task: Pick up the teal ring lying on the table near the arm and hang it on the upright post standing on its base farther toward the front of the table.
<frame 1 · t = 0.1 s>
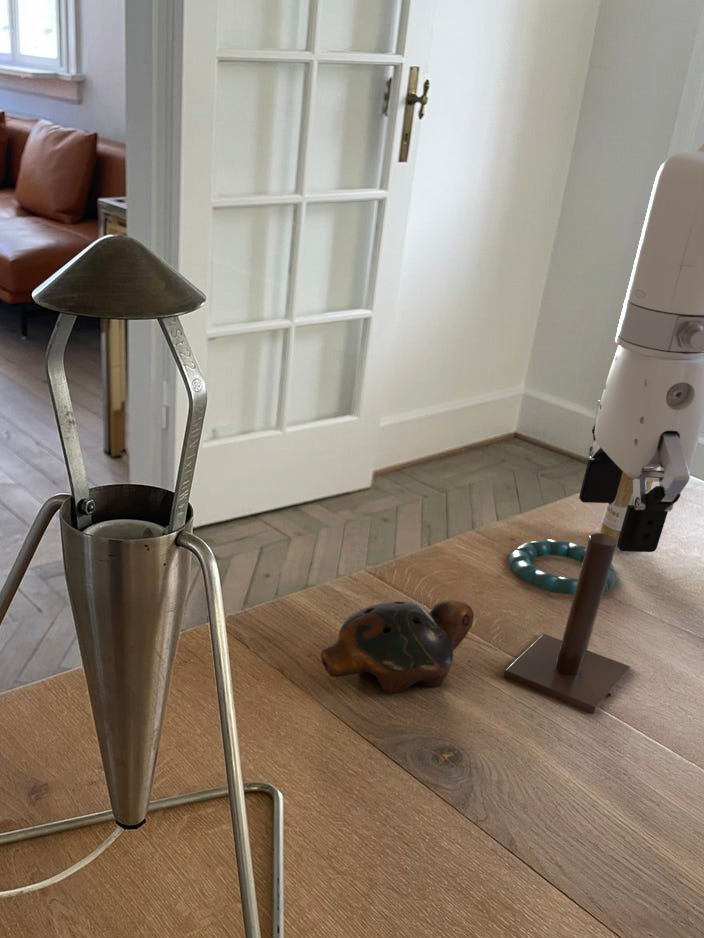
hand: (614, 524, 85), 17 cm above the table, tool pointing down, fingers open, 9 cm apart
post: (564, 680, 95), on the table
decorative turtle: (392, 679, 94), on the table
ring: (561, 569, 112), point 1 cm above the table
sprinkles bottle: (613, 550, 120), on the table
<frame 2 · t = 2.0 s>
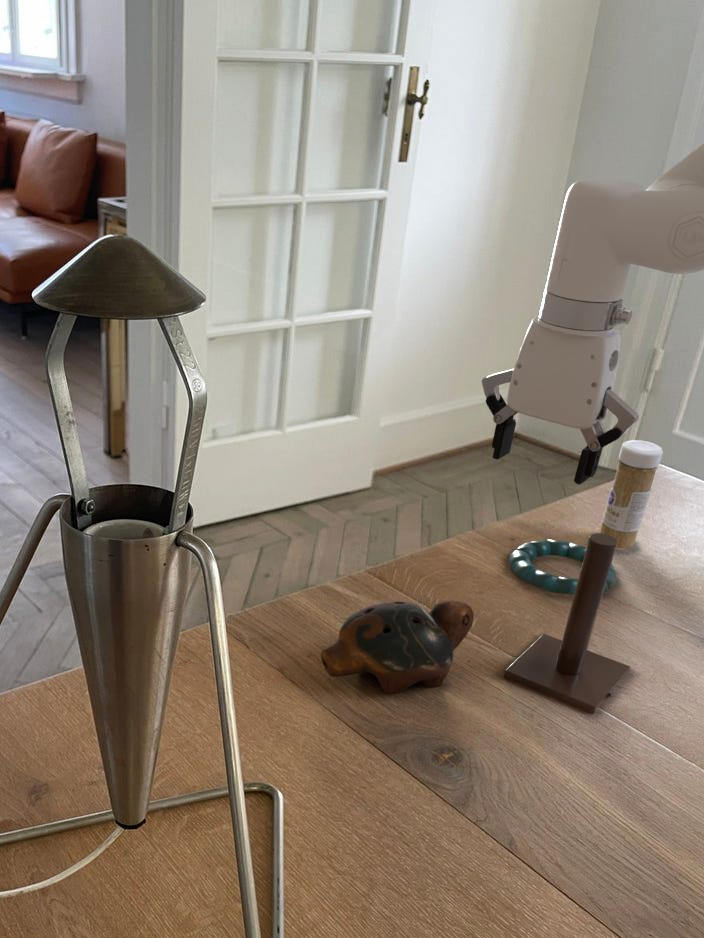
hand: (540, 468, 109), 12 cm above the table, tool pointing down, fingers open, 9 cm apart
nothing on the table moved.
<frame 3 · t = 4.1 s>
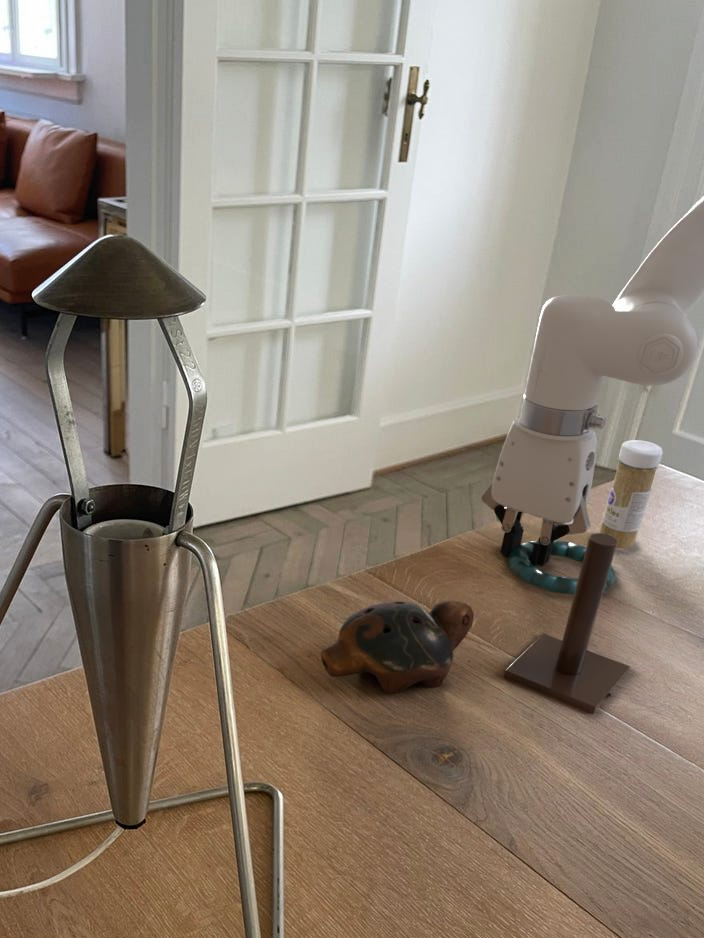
hand: (522, 563, 115), 0 cm above the table, tool pointing down, fingers closed on ring, 2 cm apart
ring: (561, 568, 112), point 1 cm above the table, touching gripper
everything else where it was.
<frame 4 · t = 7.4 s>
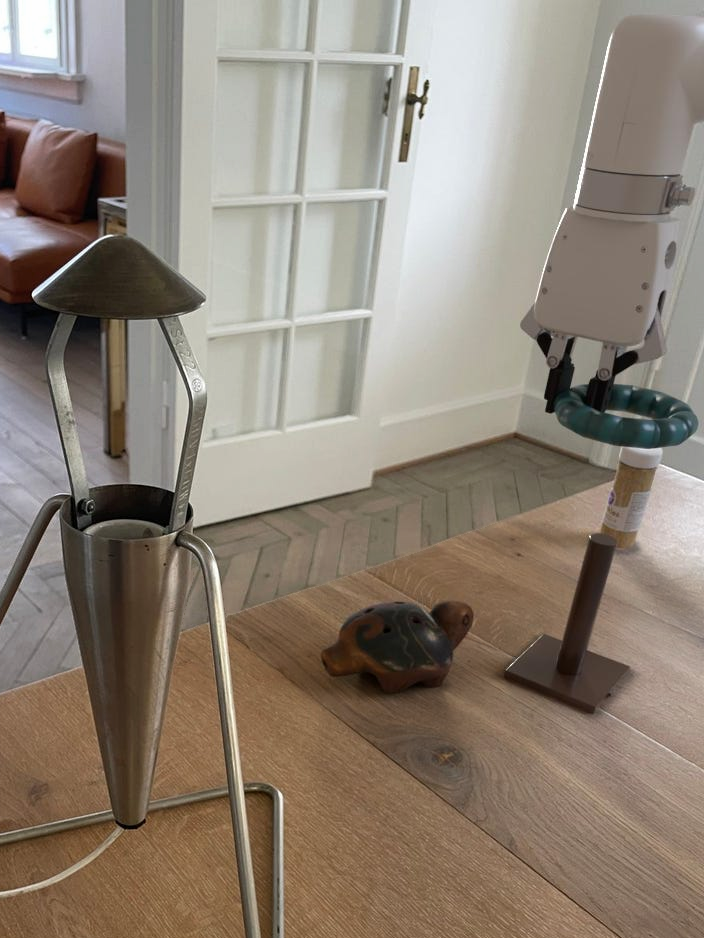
hand: (572, 412, 88), 24 cm above the table, tool pointing down, fingers closed on ring, 2 cm apart
ring: (624, 414, 85), point 25 cm above the table, touching gripper
everything else where it was.
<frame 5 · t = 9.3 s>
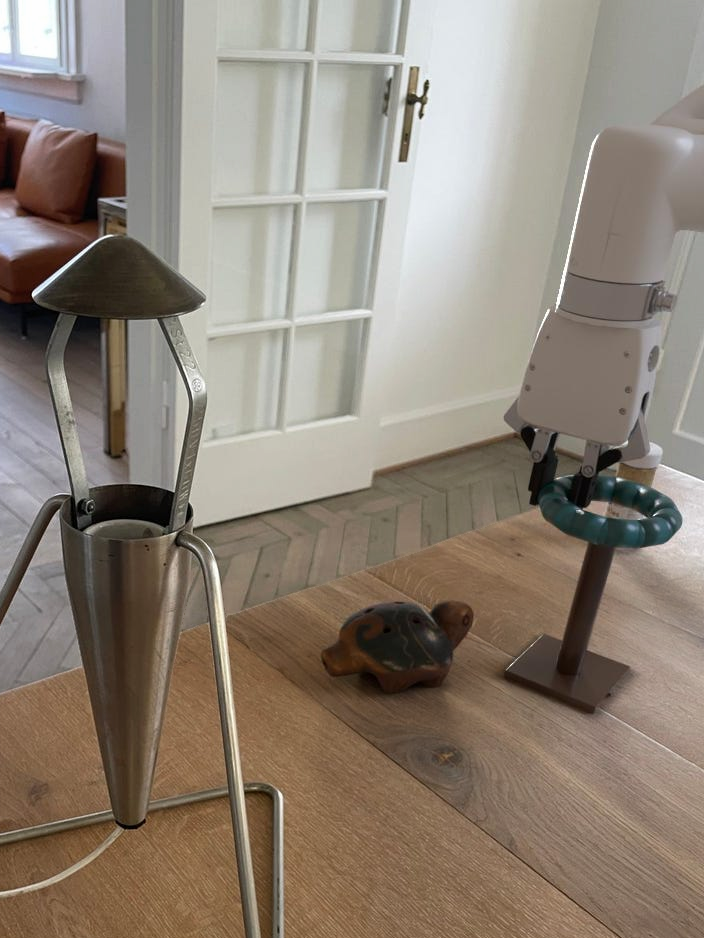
hand: (556, 504, 88), 17 cm above the table, tool pointing down, fingers closed on ring, 2 cm apart
ring: (608, 509, 85), point 18 cm above the table, touching gripper
everything else where it was.
when the fingers open (13 cm above the table, at t = 11.0 s): ring drops 6 cm, point 7 cm above the table.
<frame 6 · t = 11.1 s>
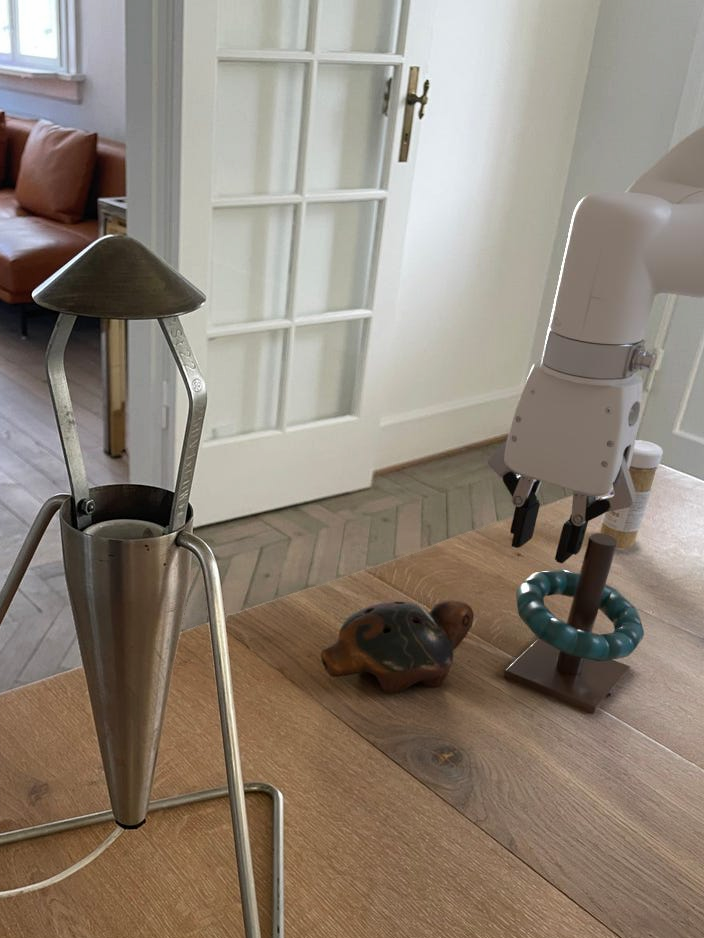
hand: (543, 548, 91), 13 cm above the table, tool pointing down, fingers open, 3 cm apart
ring: (578, 613, 91), point 7 cm above the table, tilted 11°
everything else where it was.
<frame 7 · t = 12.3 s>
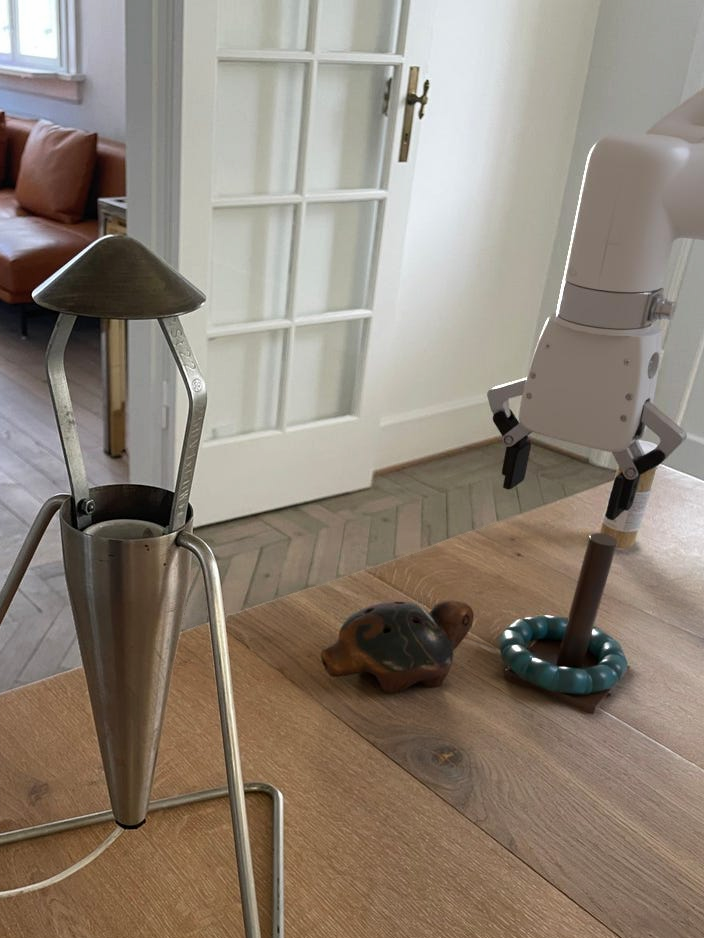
hand: (562, 499, 88), 18 cm above the table, tool pointing down, fingers open, 9 cm apart
ring: (561, 653, 94), point 3 cm above the table, touching post
everything else where it was.
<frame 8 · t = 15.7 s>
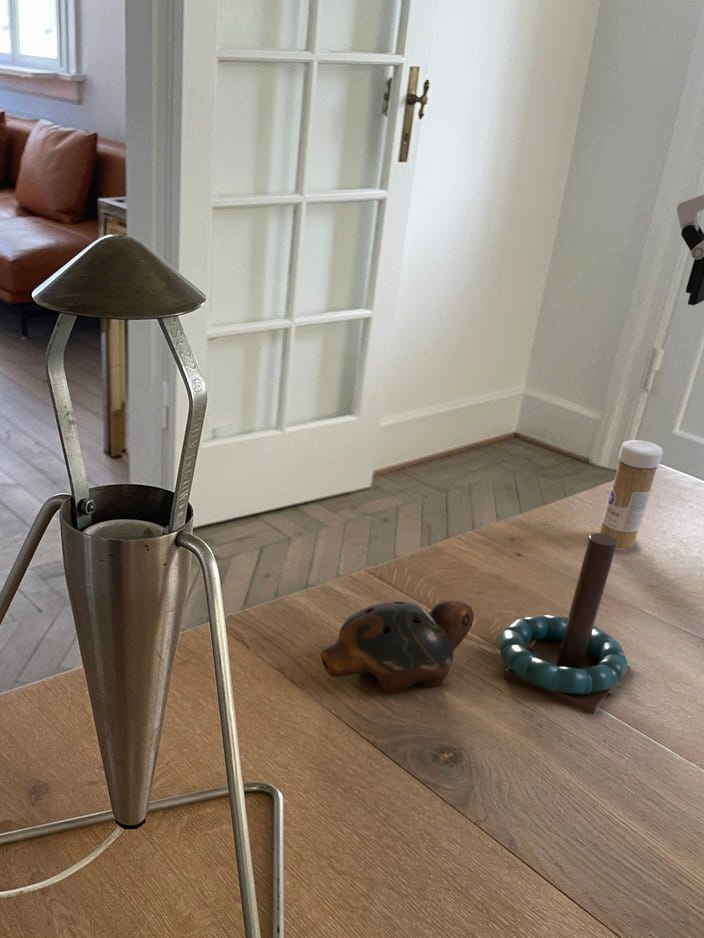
nothing on the table moved.
at the end: ring 1.0 cm from the post (horizontally); ring point 2.7 cm above the table; the gripper is holding nothing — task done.
